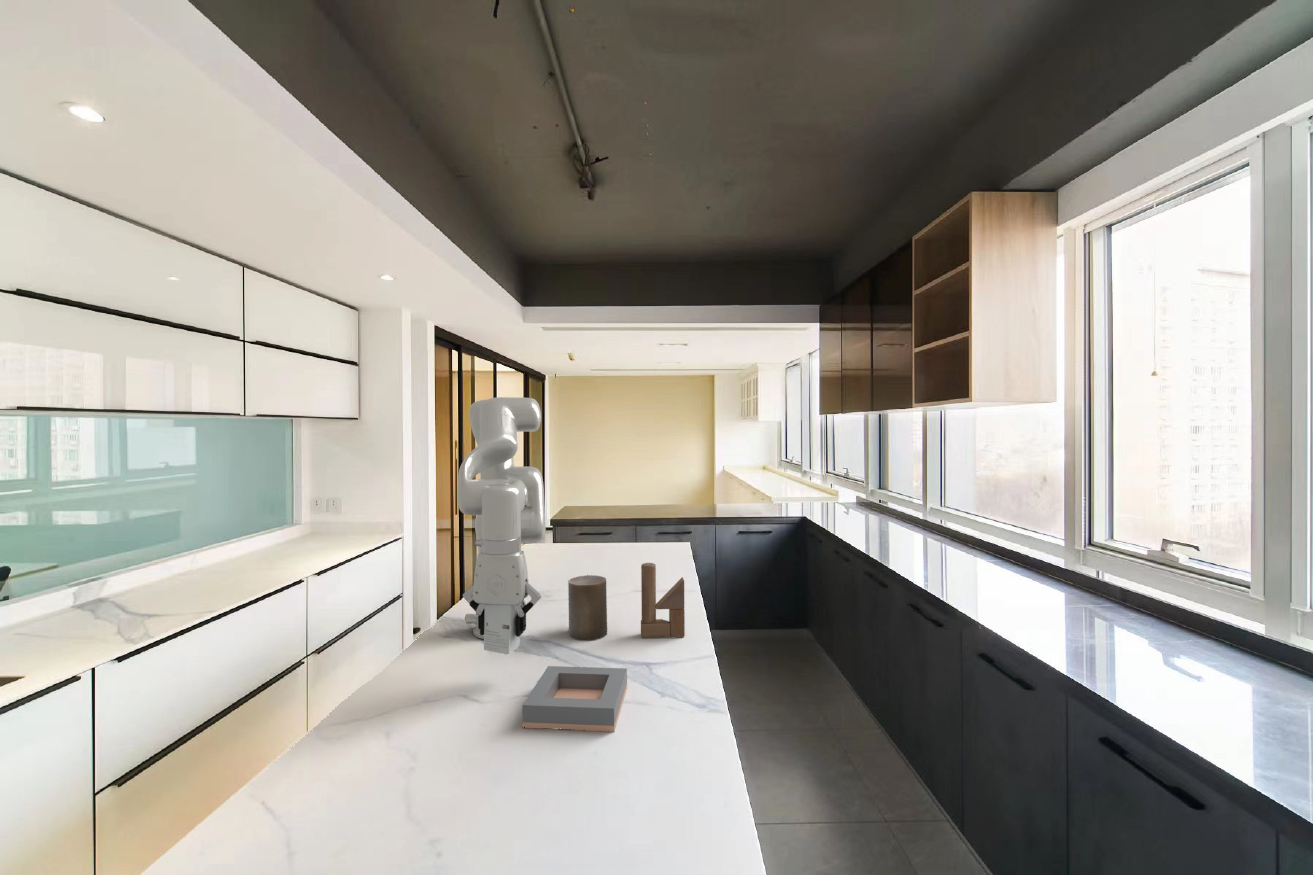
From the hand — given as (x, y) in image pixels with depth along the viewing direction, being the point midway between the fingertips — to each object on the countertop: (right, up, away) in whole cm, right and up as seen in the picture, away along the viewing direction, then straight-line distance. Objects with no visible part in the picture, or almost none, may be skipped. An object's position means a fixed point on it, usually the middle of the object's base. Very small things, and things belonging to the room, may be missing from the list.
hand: (502, 632), depth 113 cm
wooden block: (+33, -10, +27) cm, 43 cm away
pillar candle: (+14, -10, +28) cm, 33 cm away
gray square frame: (+17, -11, -9) cm, 22 cm away
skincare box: (0, -3, 0) cm, 3 cm away
